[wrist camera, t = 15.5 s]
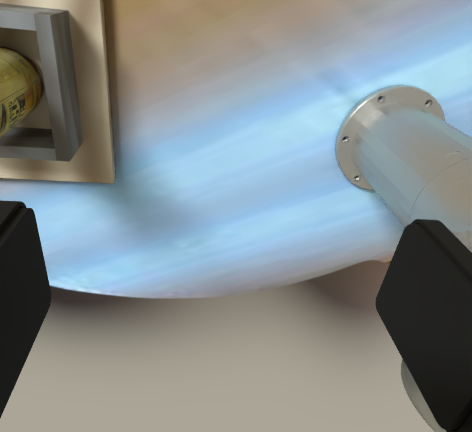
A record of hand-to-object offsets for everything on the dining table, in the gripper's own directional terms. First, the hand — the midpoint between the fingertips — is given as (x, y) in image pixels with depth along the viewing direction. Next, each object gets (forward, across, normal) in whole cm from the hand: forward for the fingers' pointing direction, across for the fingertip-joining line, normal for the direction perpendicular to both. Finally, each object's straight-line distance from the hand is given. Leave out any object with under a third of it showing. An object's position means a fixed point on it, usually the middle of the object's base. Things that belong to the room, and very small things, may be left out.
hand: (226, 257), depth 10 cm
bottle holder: (+33, +18, +4) cm, 38 cm away
